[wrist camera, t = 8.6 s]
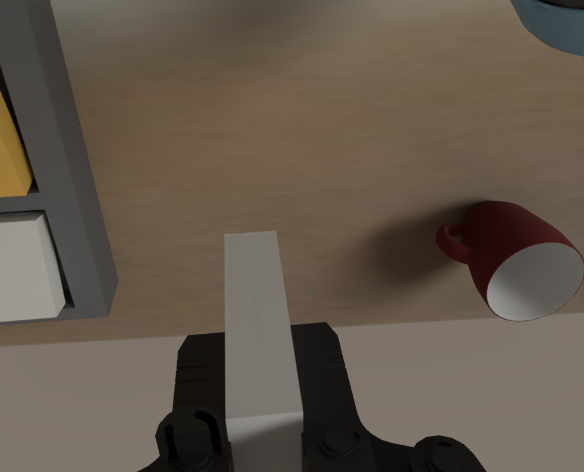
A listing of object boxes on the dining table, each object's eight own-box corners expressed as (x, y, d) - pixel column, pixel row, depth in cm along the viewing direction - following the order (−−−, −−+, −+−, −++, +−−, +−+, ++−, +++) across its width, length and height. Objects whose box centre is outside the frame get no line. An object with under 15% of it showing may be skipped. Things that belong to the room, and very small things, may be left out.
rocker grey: (-21, 215, 42) (-36, 225, 39) (46, 210, 42) (35, 220, 40) (2, 308, 44) (-10, 322, 42) (65, 303, 45) (56, 317, 43)
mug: (409, 253, 53) (445, 323, 44) (427, 178, 48) (470, 240, 40) (511, 254, 54) (564, 321, 46) (538, 181, 50) (601, 241, 41)
